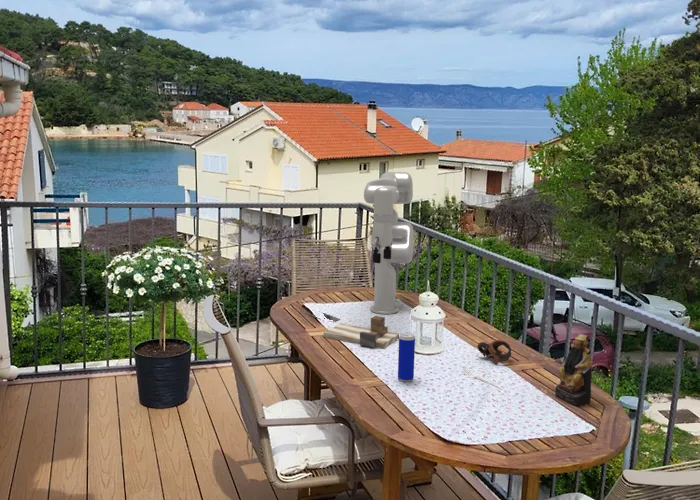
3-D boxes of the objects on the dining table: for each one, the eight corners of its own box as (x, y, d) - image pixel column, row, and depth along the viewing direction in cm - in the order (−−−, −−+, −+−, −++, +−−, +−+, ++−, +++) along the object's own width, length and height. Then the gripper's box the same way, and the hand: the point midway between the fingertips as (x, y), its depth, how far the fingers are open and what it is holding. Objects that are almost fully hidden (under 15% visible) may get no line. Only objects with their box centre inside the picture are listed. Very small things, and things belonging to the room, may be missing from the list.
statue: (551, 394, 196) (555, 332, 193) (572, 391, 199) (577, 330, 195) (577, 410, 185) (582, 344, 181) (599, 406, 187) (605, 341, 184)
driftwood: (341, 321, 270) (341, 317, 269) (329, 324, 265) (329, 319, 265) (312, 311, 285) (312, 307, 285) (300, 314, 281) (300, 309, 281)
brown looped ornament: (508, 357, 230) (515, 342, 224) (504, 376, 223) (511, 361, 217) (476, 346, 232) (482, 331, 227) (471, 364, 225) (477, 349, 219)
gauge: (377, 334, 250) (377, 312, 249) (390, 336, 247) (391, 315, 246) (359, 344, 237) (360, 322, 236) (374, 347, 235) (374, 324, 233)
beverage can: (415, 377, 208) (416, 333, 205) (411, 383, 203) (413, 338, 200) (399, 375, 209) (401, 331, 207) (395, 380, 204) (397, 336, 202)
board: (341, 328, 259) (341, 323, 259) (399, 338, 247) (399, 333, 247) (323, 337, 247) (323, 332, 247) (383, 348, 235) (383, 343, 234)
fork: (505, 395, 196) (505, 389, 196) (459, 373, 212) (460, 368, 212) (512, 393, 198) (512, 387, 198) (466, 371, 214) (467, 366, 214)
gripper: (383, 215, 261) (382, 256, 264) (364, 220, 246) (363, 263, 249) (400, 217, 257) (399, 258, 260) (382, 221, 242) (381, 265, 245)
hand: (382, 260), depth 254 cm, fingers open, 9 cm apart
